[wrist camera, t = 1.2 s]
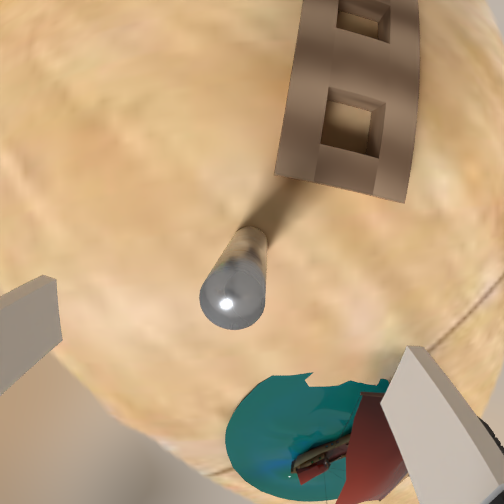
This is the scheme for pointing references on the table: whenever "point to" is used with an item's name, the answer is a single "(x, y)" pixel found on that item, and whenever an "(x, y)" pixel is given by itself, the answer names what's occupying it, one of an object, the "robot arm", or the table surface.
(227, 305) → the peg
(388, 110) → the socket block
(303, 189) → the table surface
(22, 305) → the robot arm
